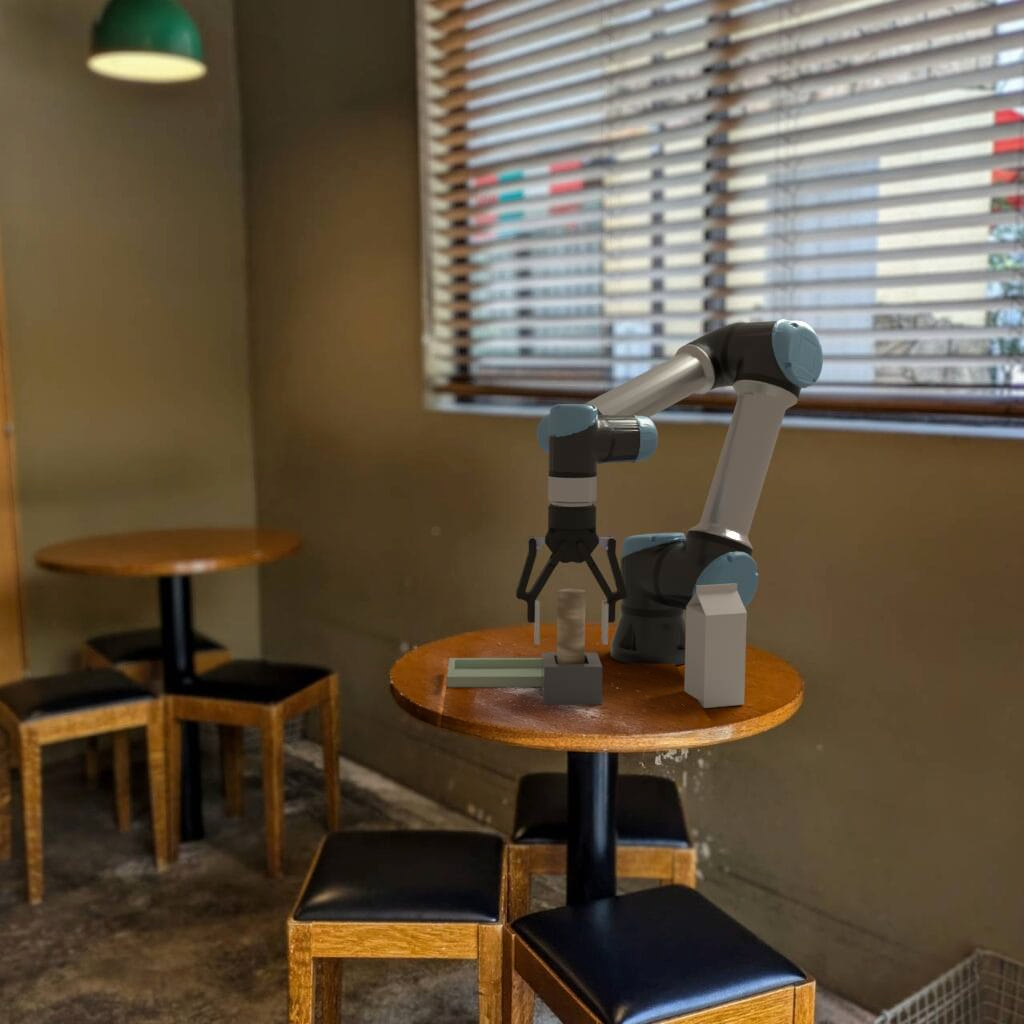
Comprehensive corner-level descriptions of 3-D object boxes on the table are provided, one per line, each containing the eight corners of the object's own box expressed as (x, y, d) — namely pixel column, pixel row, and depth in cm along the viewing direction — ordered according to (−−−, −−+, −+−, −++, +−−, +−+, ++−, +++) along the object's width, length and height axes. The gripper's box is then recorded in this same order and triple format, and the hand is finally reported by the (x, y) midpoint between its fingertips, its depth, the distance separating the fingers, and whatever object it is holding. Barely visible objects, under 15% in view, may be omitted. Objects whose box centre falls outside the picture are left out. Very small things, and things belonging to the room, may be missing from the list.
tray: (552, 672, 193) (552, 657, 193) (556, 692, 181) (556, 676, 181) (449, 673, 193) (449, 658, 192) (446, 692, 181) (446, 676, 180)
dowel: (582, 692, 178) (584, 588, 176) (585, 700, 173) (586, 594, 171) (555, 692, 178) (556, 588, 176) (557, 700, 173) (558, 594, 171)
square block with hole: (596, 694, 180) (596, 652, 179) (601, 710, 171) (602, 666, 170) (541, 694, 180) (541, 652, 179) (544, 710, 171) (544, 667, 170)
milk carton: (744, 705, 174) (747, 587, 172) (703, 709, 172) (706, 590, 170) (723, 693, 181) (726, 579, 179) (683, 696, 179) (686, 581, 177)
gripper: (641, 500, 176) (638, 636, 178) (499, 500, 175) (499, 637, 178) (647, 506, 168) (645, 648, 171) (499, 506, 168) (499, 648, 171)
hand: (570, 642), depth 174 cm, fingers open, 10 cm apart
